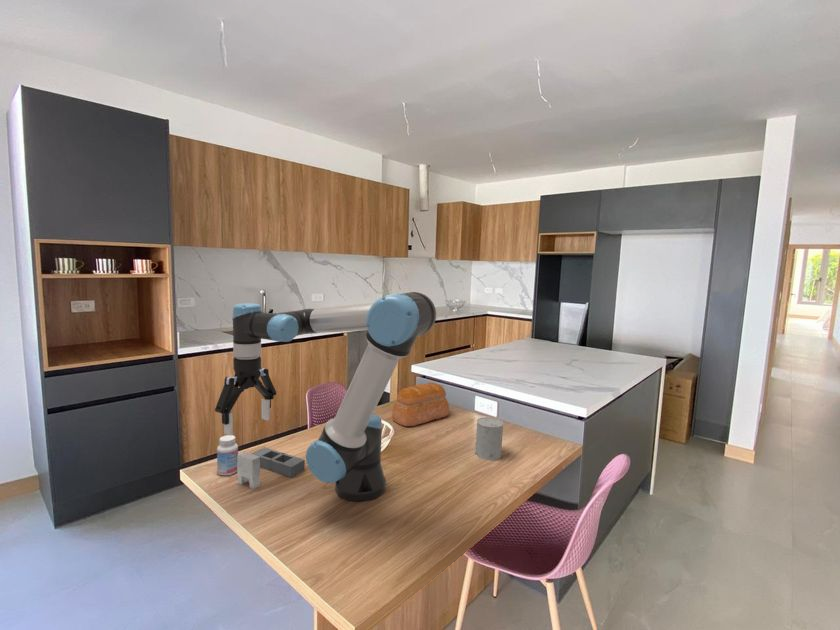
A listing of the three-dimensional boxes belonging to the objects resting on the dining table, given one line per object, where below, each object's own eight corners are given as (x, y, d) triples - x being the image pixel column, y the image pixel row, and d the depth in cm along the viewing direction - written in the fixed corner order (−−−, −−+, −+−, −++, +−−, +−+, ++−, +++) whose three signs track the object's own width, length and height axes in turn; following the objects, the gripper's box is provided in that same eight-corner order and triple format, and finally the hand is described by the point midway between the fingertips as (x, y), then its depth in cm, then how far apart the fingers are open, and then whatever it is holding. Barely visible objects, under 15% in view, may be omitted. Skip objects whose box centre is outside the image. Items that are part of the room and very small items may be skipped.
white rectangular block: (260, 485, 128) (260, 456, 127) (252, 489, 125) (252, 460, 124) (244, 479, 131) (244, 451, 130) (237, 483, 128) (236, 455, 127)
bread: (452, 416, 192) (453, 384, 190) (407, 430, 175) (408, 394, 173) (432, 408, 202) (433, 377, 200) (388, 420, 185) (389, 386, 183)
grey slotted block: (304, 469, 138) (304, 459, 138) (291, 477, 133) (291, 467, 132) (264, 456, 146) (264, 447, 146) (250, 463, 141) (250, 453, 140)
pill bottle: (230, 477, 132) (229, 442, 130) (213, 474, 133) (212, 440, 131) (242, 468, 137) (241, 435, 136) (225, 466, 139) (225, 433, 137)
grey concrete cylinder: (472, 457, 152) (473, 424, 151) (478, 446, 161) (480, 415, 160) (498, 462, 149) (500, 429, 147) (503, 451, 158) (505, 420, 156)
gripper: (270, 348, 136) (270, 411, 139) (199, 362, 114) (201, 438, 116) (288, 351, 133) (287, 416, 135) (218, 366, 110) (220, 444, 113)
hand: (247, 426), depth 126 cm, fingers open, 13 cm apart
